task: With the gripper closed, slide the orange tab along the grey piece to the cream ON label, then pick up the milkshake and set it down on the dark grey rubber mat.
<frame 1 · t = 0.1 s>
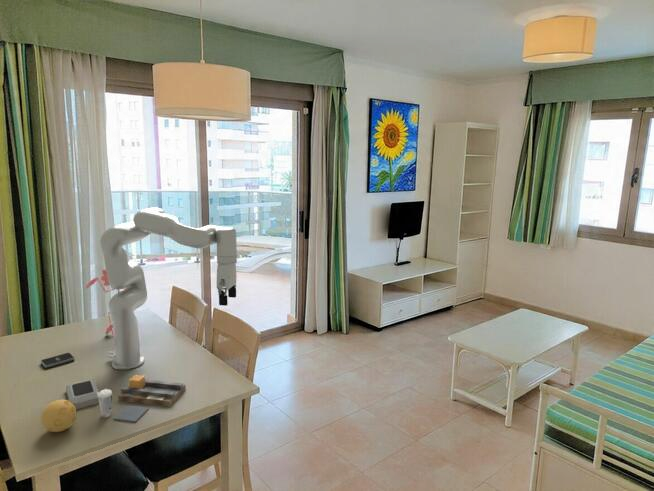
hand: (227, 301, 177), 31 cm above the table, tool pointing down, fingers open, 9 cm apart
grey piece: (152, 394, 167), on the table
figurine: (118, 331, 223), on the table
grey electronic device: (83, 398, 165), on the table
mat: (131, 414, 154), on the table
external hard drive: (58, 363, 190), on the table
stress ball: (60, 430, 145), on the table
milkshake: (105, 415, 154), on the table
switch tab: (137, 382, 167), point 4 cm above the table, slide at 0.0 cm
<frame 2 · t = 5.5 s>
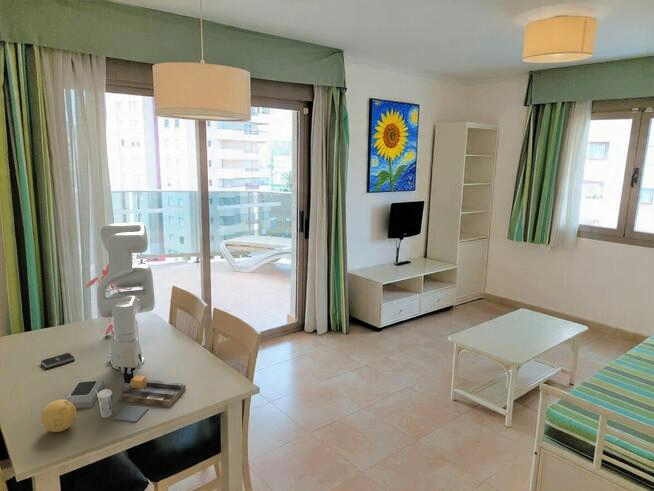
hand: (128, 381, 167), 4 cm above the table, tool pointing down, fingers closed
switch tab: (138, 383, 167), point 4 cm above the table, slide at 0.6 cm, touching gripper
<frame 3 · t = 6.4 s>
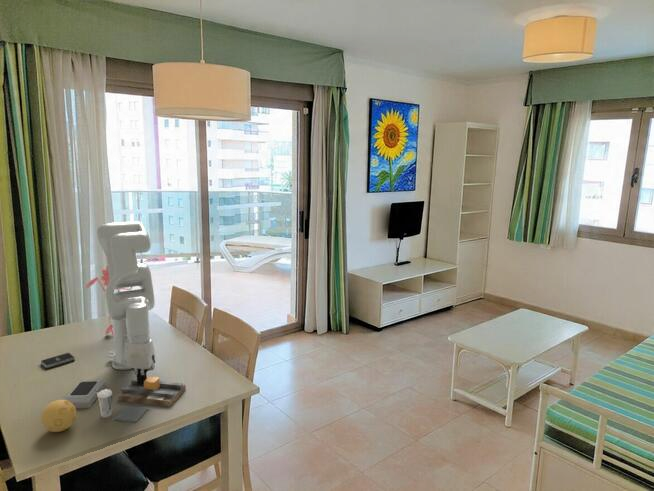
hand: (142, 383, 166), 4 cm above the table, tool pointing down, fingers closed
switch tab: (151, 384, 166), point 4 cm above the table, slide at 5.9 cm, touching gripper
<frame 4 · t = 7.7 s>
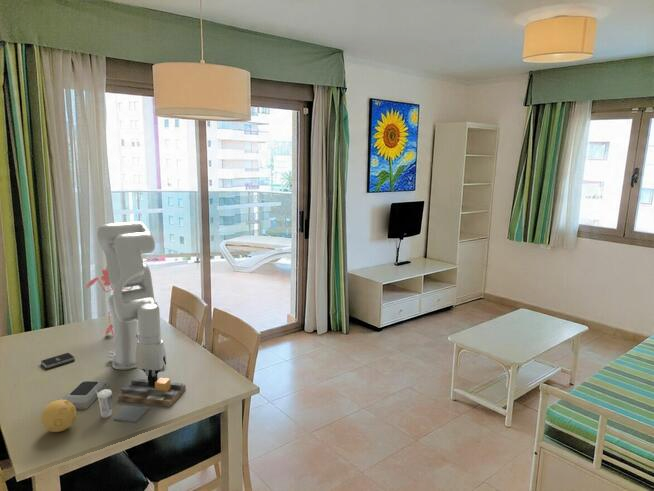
hand: (153, 384, 166), 4 cm above the table, tool pointing down, fingers closed
switch tab: (162, 385, 165), point 4 cm above the table, slide at 10.2 cm, touching gripper
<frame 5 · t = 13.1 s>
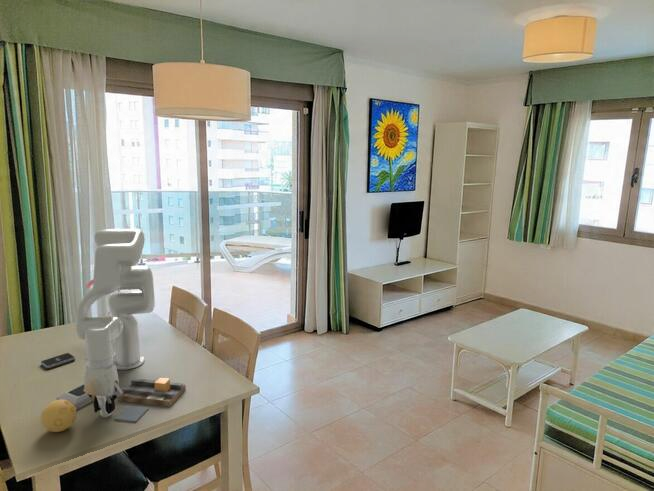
hand: (104, 410, 153), 2 cm above the table, tool pointing down, fingers closed on milkshake, 4 cm apart
milkshake: (105, 415, 154), on the table, touching gripper
switch tab: (162, 385, 165), point 4 cm above the table, slide at 10.0 cm
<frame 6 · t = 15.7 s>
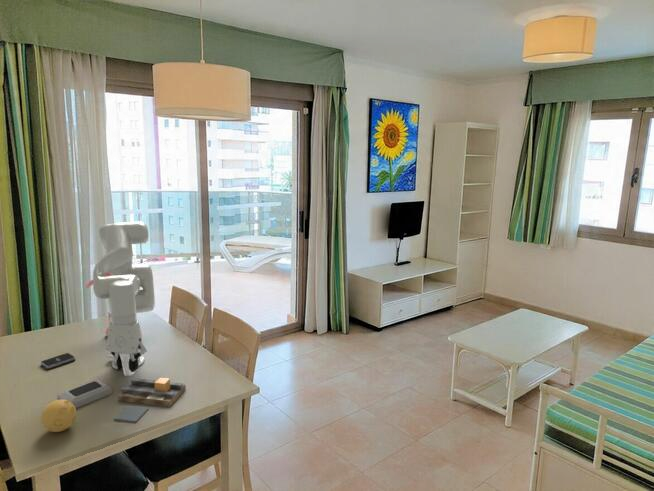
hand: (127, 369, 151), 17 cm above the table, tool pointing down, fingers closed on milkshake, 4 cm apart
milkshake: (128, 374, 151), point 15 cm above the table, touching gripper
when the fingers open (4 cm above the table, at t = 18.4 s): milkshake drops 2 cm, resting on mat.
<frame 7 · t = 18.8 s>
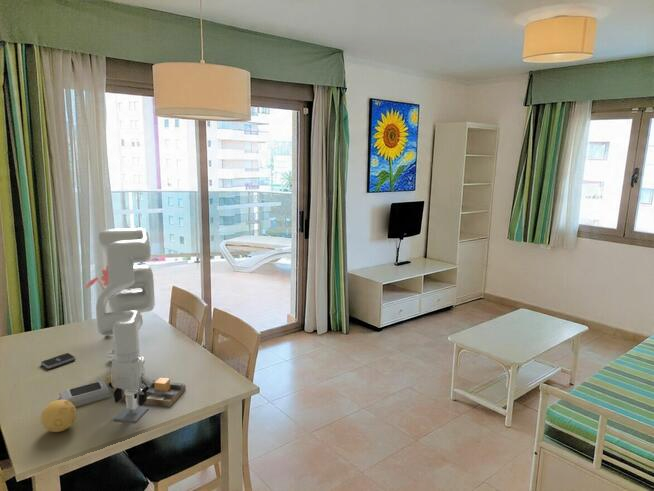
hand: (130, 401, 153), 5 cm above the table, tool pointing down, fingers open, 8 cm apart
milkshake: (131, 412, 155), resting on mat
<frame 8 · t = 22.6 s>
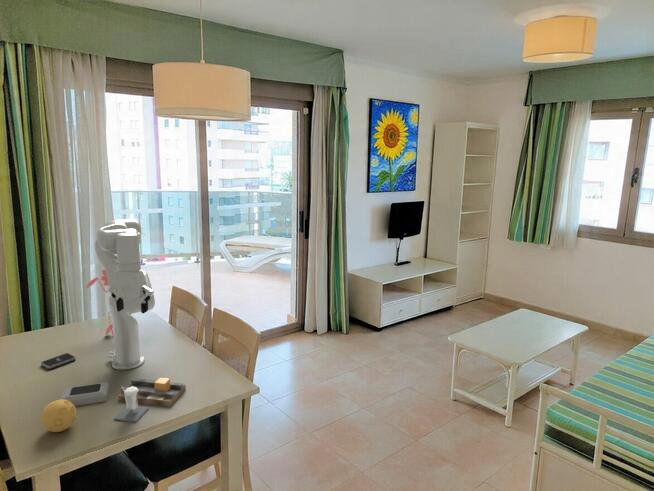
hand: (132, 311, 167), 30 cm above the table, tool pointing down, fingers open, 9 cm apart
at the end: switch tab slide at 10.0 cm; milkshake 0.3 cm off-centre on the mat, point 0.4 cm above the mat's base; the gripper is holding nothing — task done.
